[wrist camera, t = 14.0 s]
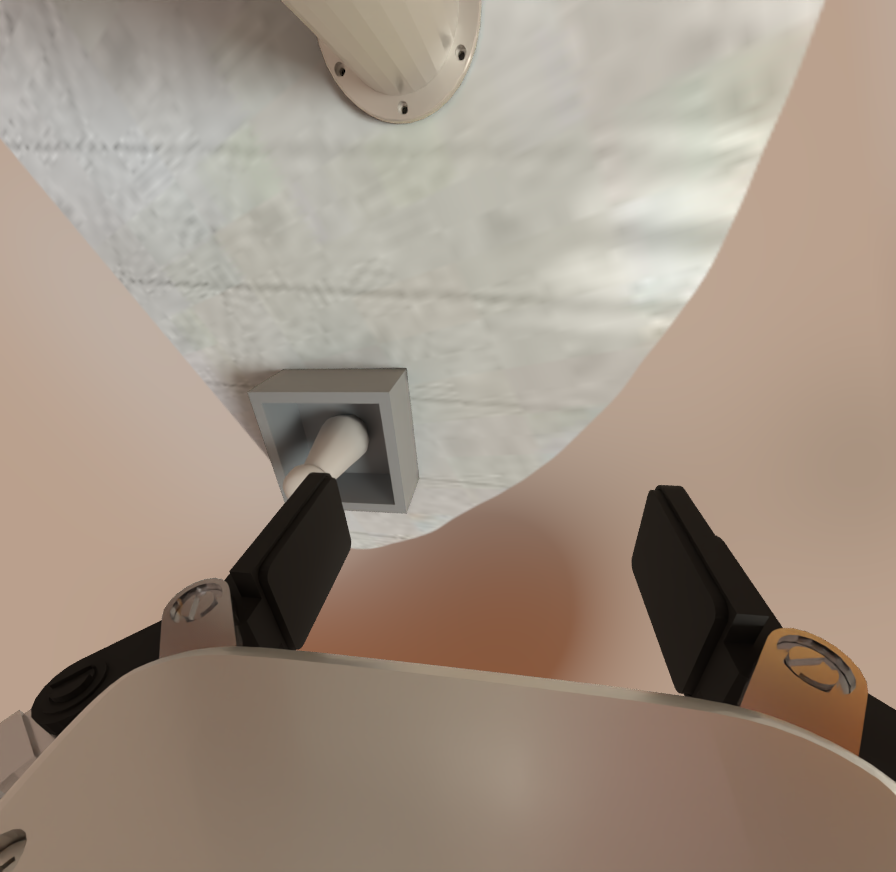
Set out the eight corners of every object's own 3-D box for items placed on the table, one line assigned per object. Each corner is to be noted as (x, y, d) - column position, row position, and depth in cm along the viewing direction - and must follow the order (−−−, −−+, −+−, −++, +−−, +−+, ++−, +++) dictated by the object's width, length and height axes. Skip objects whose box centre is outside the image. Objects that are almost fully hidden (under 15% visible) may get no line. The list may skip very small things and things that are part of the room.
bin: (283, 369, 44) (247, 392, 38) (406, 368, 42) (389, 392, 36) (312, 474, 51) (286, 507, 45) (419, 478, 49) (406, 513, 43)
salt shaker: (343, 454, 48) (291, 524, 36) (320, 415, 45) (258, 477, 34) (382, 442, 46) (341, 512, 35) (361, 401, 44) (310, 462, 32)
